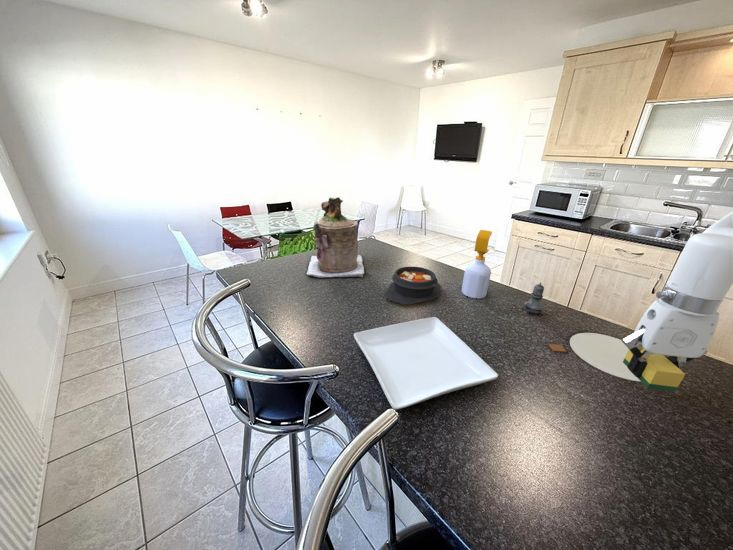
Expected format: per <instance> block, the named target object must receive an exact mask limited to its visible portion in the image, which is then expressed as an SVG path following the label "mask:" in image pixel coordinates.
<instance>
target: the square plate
mask: <svg viewBox="0 0 733 550" xmlns="http://www.w3.org/2000/svg"><path fill="white" fill-rule="evenodd" d="M353 338H354V341H356V343H357V345H358V347H359V348H360V350H361V351H362V353H363V355H364V356H365V358H366V360H367V362H368V363H369V365H370V367H371V369H372V371H373V373H374V374H375V377H376V379H377V381H378V382H379V385H380V387H381V389H382V391H383V393H384V395H385V397H386V400H387V402H388V403H389V405H390V406H391V409H393V410H401V409H404V408H407V407H410V406H414V405H416V404H419V403H422V402H426V401H427V400H430V399H434V398H437V397H439V396H442V395H445V394H449V393H452V392H455V391H459V390H463V389H466V388H470V387H475V386H477V385H481V384H482V385H483V384H485V383H488V382H491V381H494V380H496V379H498V377H499V374H498V372H496V370H494V369H493V368H492V367H490V365H489V364H488V363H486V362H485V361H484V359H482V358H481V357H480V356H479V355H478V354H477V353H476V352H475V351H474V350H473V349H472V348H470V346H469V345H467V344H466V343H465V342H464V341H463V340H462V339H461V338H460V337H459V336H458V335H457V334H455V333H454V332H453V331H452V330H451V329H450V328H449V327H448V326H447V325H446V324H445V323H444V322H443V321H442V320H440V319H439V318H438V317H436V316H432V317H425V318H421V319H414V320H409V321H405V322H404V321H403V322H400V323H395V324H389V325H384V326H380V327H376V328H370V329H367V330H366V329H365V330H361V331H358V332H354V333H353Z"/></svg>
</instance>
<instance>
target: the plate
mask: <svg viewBox="0 0 733 550" xmlns="http://www.w3.org/2000/svg"><path fill="white" fill-rule="evenodd" d="M622 340H623V339H621V338H617V337H614V336H610V335H606V334H601V333H596V332H579V333H575V334H574V335H572V336H571V337H570V339H569V345H570V348H571V349H572V351H573V352H574V353H575V354H576V355H577V356H578V357H579V358H580V359H581V360H583V361H585V362H586V363H588V364H589V365H591V366H593V368H596V369H598V370H600V371H602V372H604V373H607V374H608V375H612V376H614V377H618V378H620V379H623V380H629V381H633V382H634V381H635V382H641V381H640V380H639V379H638V378H637V377H635V376H634V375H633V373H632V372H631V371H630V370H629V369H628V367H627V366H626V365H625V364H624V363H623V360H624V358H625V356H626V354H627V352H628V350H629V348H628V347H627V346H626V345H625V344H624V343H623V342H622ZM641 383H642V382H641Z"/></svg>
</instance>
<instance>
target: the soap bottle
mask: <svg viewBox="0 0 733 550" xmlns="http://www.w3.org/2000/svg"><path fill="white" fill-rule="evenodd" d="M492 235H493V232H492V230H486V229H480V230H479V232H478V233H477V236H476V240H475V244H474V252H476V253H477V254H478V255H476V256H475V259H474V262H471V263H469V264H467V265H466V267H465V268H464V273H463V279H462V285H461V293H462V294H463V295H464V296H465V297H467V296H468V298H470V299H476V298H477V299H478V300H479V299H484V298H486V296H487V293H488V290H489V285H490V280H491V275H492V271H491V270H492V269H491V268H490V267H489V266H488V265H487V264H486V263H485V262H486V256H484V255H485V254H488V252H489V251H490V249H489V248H488V246H489V241H490V238H491V236H492Z"/></svg>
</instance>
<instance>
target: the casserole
mask: <svg viewBox="0 0 733 550" xmlns="http://www.w3.org/2000/svg"><path fill="white" fill-rule="evenodd" d="M391 280H392V282H391V283H390V285H389V286H388V289H387V290H386V291H385V293H384V296H385V297H386V298H387V299H389V300H391V301H392V302H396V303H398V304H402V305H413V304H416V303H420V302H421V303H422V302H427V301H432V300H433V299H436V298H437V297H438V296H439V294H440V293H439V291H440V288H441V284H440V283H439V280H438V279H437V276H436V273H435V272H433V271H432V270H431V269H428V268H425V267H420V266H411V265H410V266H402V267H399V268H397V269H396V270H395V271H394V273H393V274H392V275H391Z"/></svg>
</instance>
